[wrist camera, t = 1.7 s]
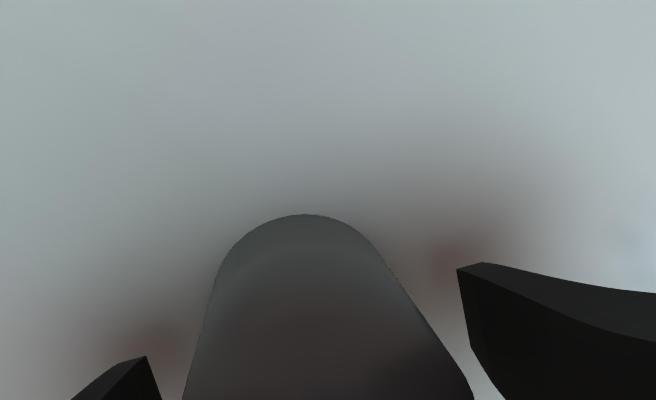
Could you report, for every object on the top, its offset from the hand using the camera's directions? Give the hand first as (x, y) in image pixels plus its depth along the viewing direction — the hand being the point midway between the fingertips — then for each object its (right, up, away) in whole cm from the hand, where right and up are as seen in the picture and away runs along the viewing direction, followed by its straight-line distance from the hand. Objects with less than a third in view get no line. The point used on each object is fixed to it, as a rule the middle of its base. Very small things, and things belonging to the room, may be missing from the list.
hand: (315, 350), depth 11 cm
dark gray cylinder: (0, +1, +3) cm, 3 cm away
